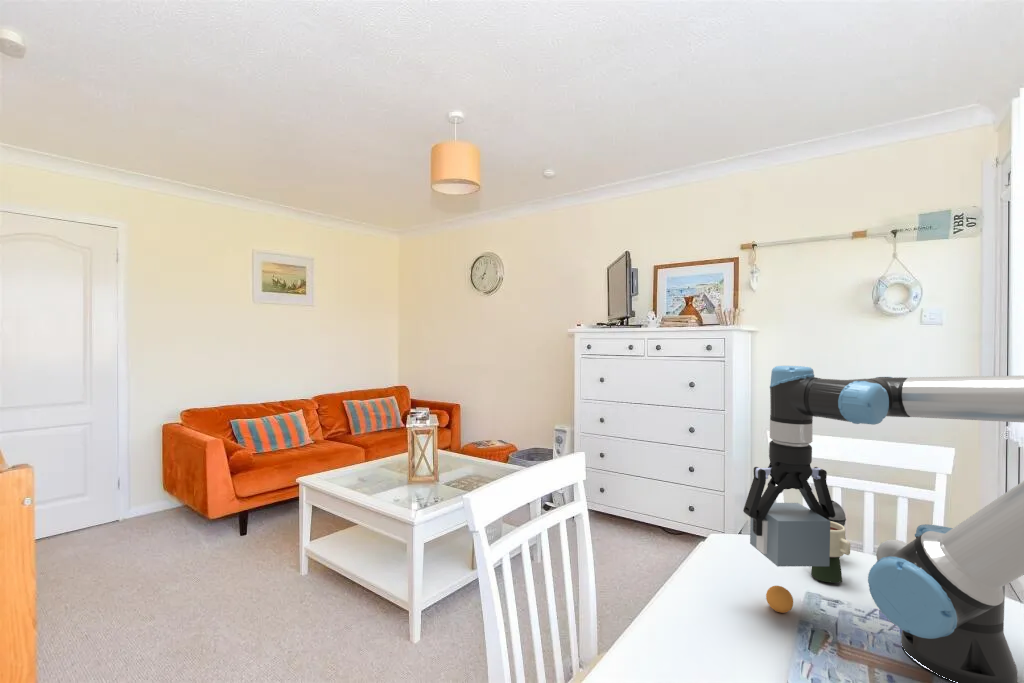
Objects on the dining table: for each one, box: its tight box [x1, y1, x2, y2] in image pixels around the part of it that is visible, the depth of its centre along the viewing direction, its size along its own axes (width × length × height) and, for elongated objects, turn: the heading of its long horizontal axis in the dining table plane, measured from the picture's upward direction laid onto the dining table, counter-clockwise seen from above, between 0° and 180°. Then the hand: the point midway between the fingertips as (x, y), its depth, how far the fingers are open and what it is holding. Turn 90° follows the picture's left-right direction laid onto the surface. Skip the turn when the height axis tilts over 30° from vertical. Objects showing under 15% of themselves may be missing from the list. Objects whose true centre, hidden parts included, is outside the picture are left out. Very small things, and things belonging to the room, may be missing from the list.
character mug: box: [810, 521, 851, 583], centre depth 115 cm, size 11×7×13 cm, turn 19°
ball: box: [765, 585, 794, 614], centre depth 101 cm, size 5×5×5 cm
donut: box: [876, 539, 908, 562], centre depth 113 cm, size 10×3×10 cm, turn 18°
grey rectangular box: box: [749, 502, 830, 567], centre depth 99 cm, size 10×10×9 cm
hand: (788, 550), depth 99 cm, fingers closed on grey rectangular box, 10 cm apart
